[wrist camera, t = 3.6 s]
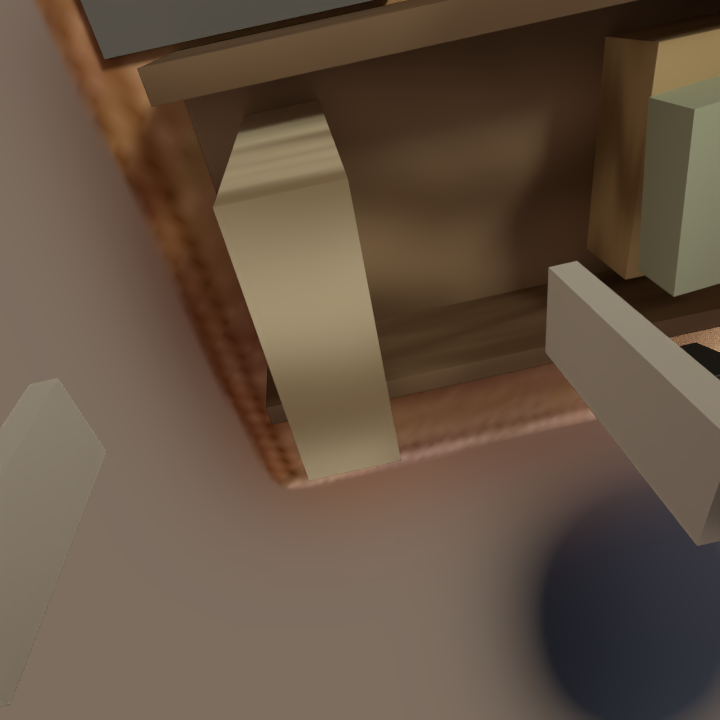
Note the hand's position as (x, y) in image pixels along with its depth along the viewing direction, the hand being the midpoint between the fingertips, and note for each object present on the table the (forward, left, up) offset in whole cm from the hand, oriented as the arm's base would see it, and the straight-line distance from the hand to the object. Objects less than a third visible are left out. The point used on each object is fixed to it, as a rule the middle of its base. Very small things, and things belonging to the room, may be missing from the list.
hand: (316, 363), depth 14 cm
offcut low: (0, +15, -11) cm, 19 cm away
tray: (0, +8, -12) cm, 14 cm away
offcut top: (0, +15, -7) cm, 17 cm away
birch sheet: (0, 0, -11) cm, 11 cm away
